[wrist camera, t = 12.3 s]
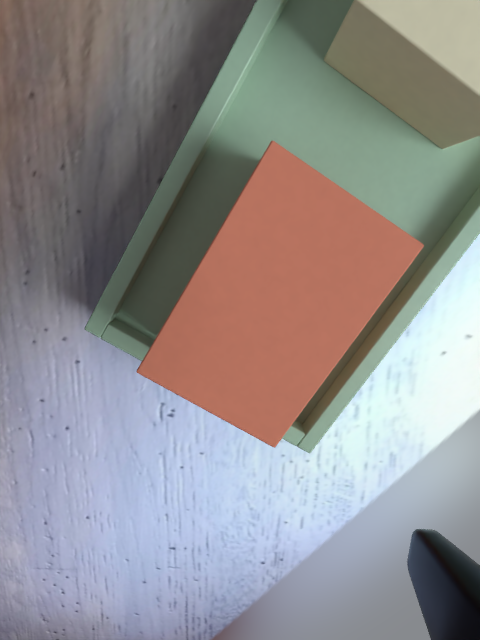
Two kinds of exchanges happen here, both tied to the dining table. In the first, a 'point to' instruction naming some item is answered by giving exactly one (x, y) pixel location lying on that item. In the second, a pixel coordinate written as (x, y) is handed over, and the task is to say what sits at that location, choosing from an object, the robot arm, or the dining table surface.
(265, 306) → the coral block
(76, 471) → the dining table surface
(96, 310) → the green shallow rectangular tray
